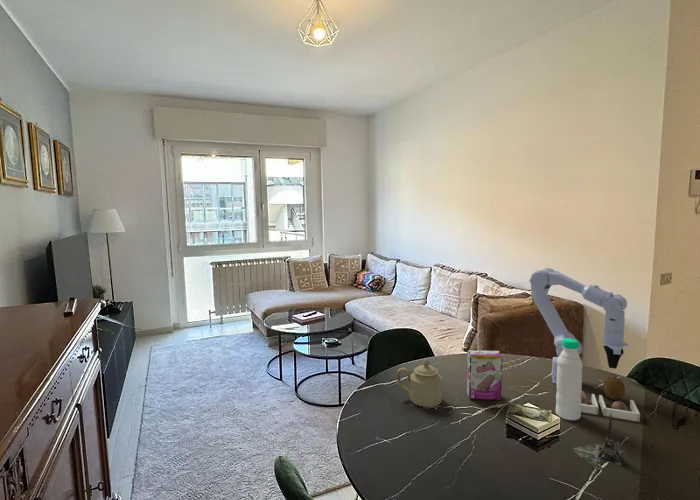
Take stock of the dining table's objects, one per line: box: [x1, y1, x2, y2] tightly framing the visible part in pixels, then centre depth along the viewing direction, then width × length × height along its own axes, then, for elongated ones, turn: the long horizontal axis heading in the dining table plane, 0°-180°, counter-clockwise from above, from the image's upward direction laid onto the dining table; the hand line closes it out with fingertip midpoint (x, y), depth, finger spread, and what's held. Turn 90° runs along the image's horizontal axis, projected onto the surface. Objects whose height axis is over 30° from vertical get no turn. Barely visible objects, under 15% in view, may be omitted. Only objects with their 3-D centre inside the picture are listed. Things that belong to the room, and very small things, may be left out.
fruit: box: [602, 376, 626, 401], centre depth 137 cm, size 6×6×8 cm
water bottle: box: [555, 338, 584, 421], centre depth 127 cm, size 7×7×25 cm
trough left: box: [580, 393, 599, 416], centre depth 134 cm, size 10×10×2 cm
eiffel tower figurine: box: [573, 414, 627, 470], centre depth 106 cm, size 15×10×13 cm
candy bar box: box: [466, 349, 503, 401], centre depth 141 cm, size 11×5×16 cm, turn 84°
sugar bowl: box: [396, 358, 443, 408], centre depth 139 cm, size 15×11×15 cm
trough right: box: [598, 394, 641, 423], centre depth 129 cm, size 10×10×2 cm
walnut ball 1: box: [581, 396, 588, 405], centre depth 133 cm, size 4×4×4 cm
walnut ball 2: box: [611, 400, 628, 411], centre depth 128 cm, size 4×4×4 cm
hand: (612, 367), depth 141 cm, fingers closed
